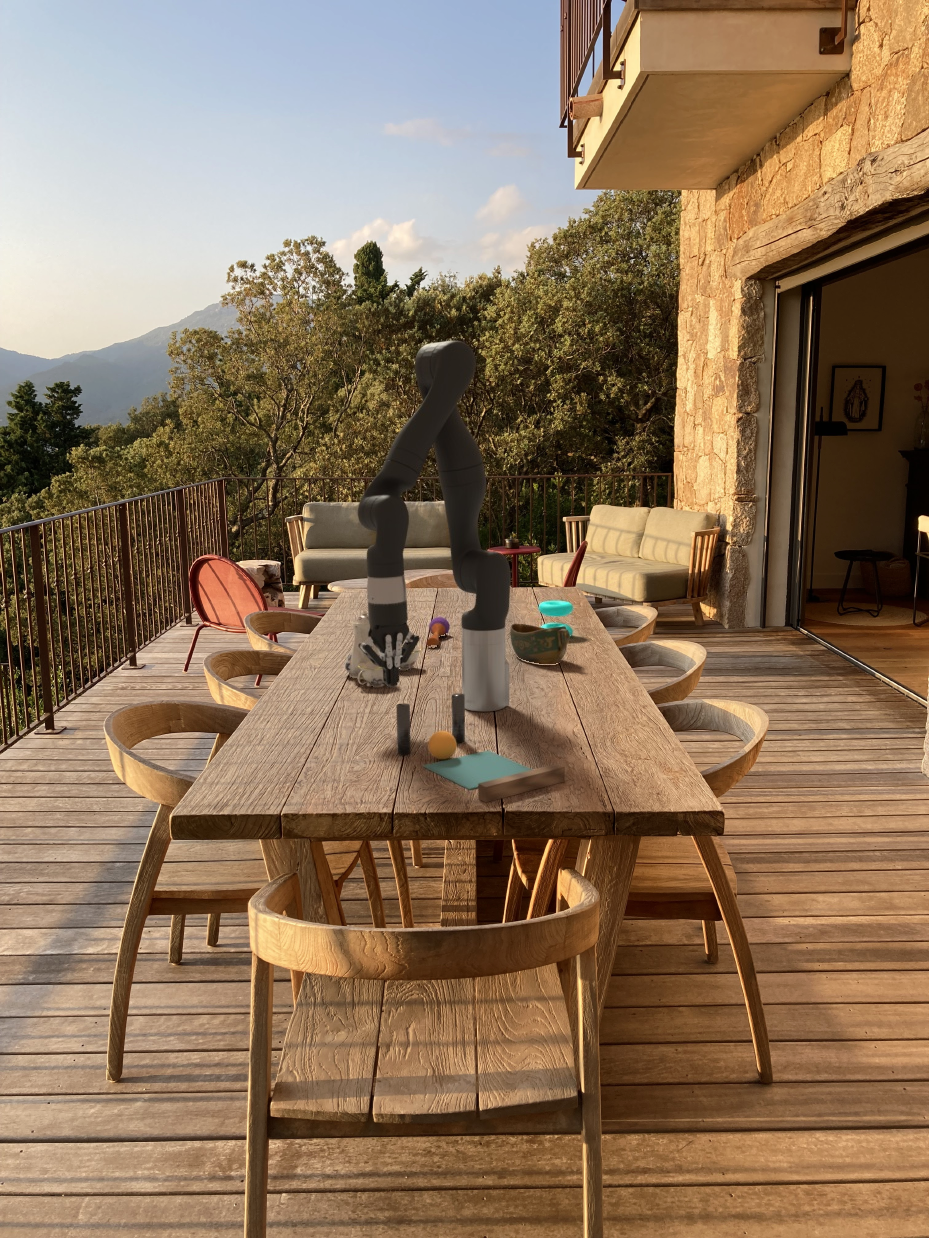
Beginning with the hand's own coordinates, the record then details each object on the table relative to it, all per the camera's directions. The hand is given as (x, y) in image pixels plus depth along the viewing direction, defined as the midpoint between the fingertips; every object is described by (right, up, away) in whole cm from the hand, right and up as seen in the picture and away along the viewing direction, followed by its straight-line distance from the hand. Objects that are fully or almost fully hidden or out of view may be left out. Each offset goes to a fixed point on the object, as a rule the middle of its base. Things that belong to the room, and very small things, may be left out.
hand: (391, 685), depth 184 cm
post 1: (+3, -11, -14) cm, 19 cm away
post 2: (+13, -10, -8) cm, 18 cm away
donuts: (+41, +8, +90) cm, 99 cm away
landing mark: (+17, -13, -23) cm, 31 cm away
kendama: (+6, +6, +85) cm, 85 cm away
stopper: (+24, -14, -33) cm, 43 cm away
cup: (+33, +2, +59) cm, 68 cm away
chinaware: (-7, -1, +44) cm, 45 cm away
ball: (+10, -9, -18) cm, 23 cm away
